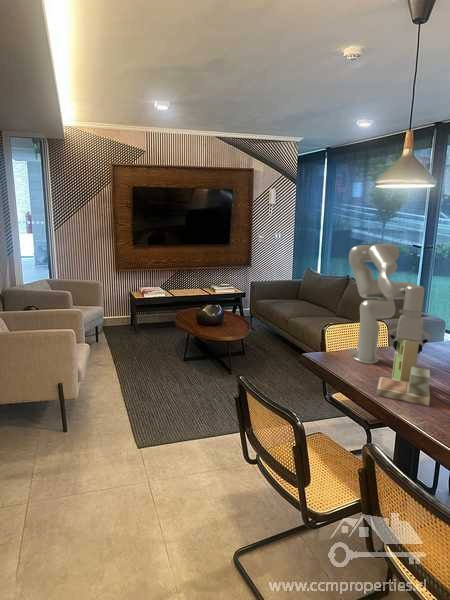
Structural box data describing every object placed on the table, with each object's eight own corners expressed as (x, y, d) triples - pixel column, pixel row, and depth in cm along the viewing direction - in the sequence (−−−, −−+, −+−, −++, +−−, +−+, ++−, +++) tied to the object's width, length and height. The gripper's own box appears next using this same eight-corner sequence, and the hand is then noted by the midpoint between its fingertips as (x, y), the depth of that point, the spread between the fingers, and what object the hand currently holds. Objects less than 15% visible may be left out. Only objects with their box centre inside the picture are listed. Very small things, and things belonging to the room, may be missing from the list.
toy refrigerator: (389, 378, 196) (395, 335, 191) (404, 378, 197) (411, 335, 192) (397, 385, 188) (404, 340, 184) (413, 386, 189) (420, 341, 184)
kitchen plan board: (376, 395, 178) (379, 370, 176) (379, 382, 191) (382, 359, 188) (428, 405, 171) (432, 380, 168) (428, 392, 183) (432, 368, 181)
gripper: (390, 312, 185) (385, 350, 189) (434, 318, 178) (428, 356, 182) (391, 309, 192) (386, 345, 195) (433, 314, 185) (428, 351, 188)
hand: (407, 351), depth 188 cm, fingers closed on toy refrigerator, 9 cm apart
